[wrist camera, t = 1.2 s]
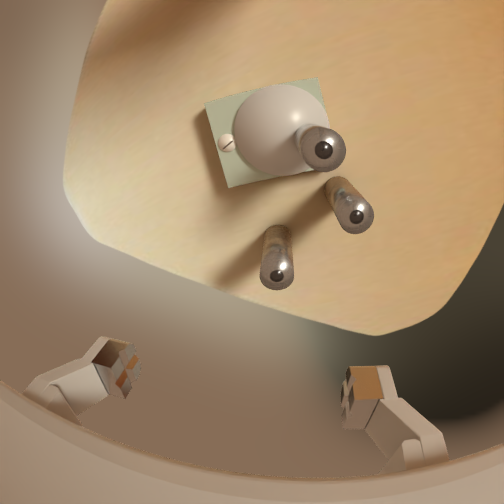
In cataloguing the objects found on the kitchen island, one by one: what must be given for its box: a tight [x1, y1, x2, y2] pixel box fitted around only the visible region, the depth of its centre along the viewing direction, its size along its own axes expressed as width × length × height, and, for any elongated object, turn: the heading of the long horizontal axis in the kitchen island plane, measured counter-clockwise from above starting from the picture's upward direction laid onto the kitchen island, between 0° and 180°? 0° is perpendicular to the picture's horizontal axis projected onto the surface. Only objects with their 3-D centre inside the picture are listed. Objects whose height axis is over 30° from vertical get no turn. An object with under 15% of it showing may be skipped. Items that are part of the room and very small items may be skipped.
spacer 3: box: [324, 176, 374, 234], centre depth 38 cm, size 4×4×12 cm
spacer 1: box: [260, 225, 294, 290], centre depth 42 cm, size 4×4×12 cm
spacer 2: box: [295, 124, 346, 172], centre depth 31 cm, size 4×4×12 cm
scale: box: [204, 77, 330, 188], centre depth 38 cm, size 13×16×4 cm
